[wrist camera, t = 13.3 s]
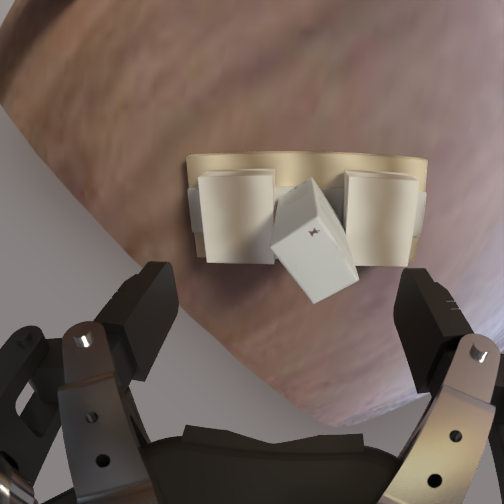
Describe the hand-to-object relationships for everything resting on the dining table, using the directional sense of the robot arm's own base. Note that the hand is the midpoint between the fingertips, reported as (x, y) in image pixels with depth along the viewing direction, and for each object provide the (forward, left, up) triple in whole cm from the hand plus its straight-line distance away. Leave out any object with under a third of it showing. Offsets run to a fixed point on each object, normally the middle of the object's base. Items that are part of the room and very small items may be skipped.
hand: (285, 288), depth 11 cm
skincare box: (+2, -5, -23) cm, 23 cm away
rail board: (+2, -5, -25) cm, 25 cm away
